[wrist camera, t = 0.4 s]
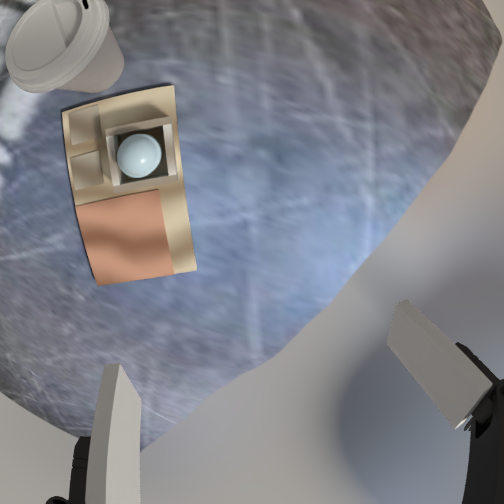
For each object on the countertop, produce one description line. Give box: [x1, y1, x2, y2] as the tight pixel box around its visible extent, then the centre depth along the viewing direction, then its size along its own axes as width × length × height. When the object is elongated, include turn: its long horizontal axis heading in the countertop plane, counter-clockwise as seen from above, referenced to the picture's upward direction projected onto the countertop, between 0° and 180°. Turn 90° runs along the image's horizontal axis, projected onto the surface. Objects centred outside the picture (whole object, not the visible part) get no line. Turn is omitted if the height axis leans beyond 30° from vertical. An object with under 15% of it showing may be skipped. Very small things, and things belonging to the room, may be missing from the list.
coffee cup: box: [5, 0, 124, 93], centre depth 17 cm, size 10×10×15 cm
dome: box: [117, 134, 163, 178], centre depth 25 cm, size 4×4×5 cm
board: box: [62, 85, 197, 286], centre depth 29 cm, size 23×14×4 cm, turn 4°
